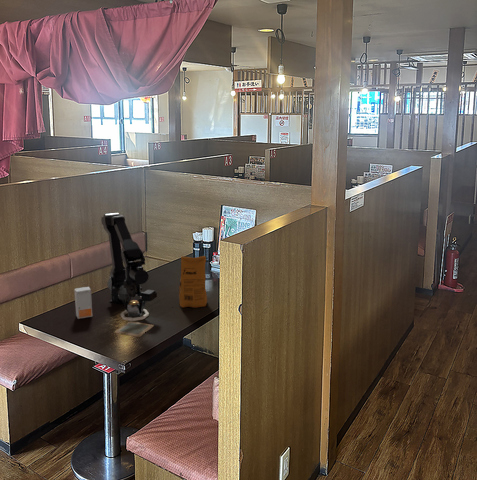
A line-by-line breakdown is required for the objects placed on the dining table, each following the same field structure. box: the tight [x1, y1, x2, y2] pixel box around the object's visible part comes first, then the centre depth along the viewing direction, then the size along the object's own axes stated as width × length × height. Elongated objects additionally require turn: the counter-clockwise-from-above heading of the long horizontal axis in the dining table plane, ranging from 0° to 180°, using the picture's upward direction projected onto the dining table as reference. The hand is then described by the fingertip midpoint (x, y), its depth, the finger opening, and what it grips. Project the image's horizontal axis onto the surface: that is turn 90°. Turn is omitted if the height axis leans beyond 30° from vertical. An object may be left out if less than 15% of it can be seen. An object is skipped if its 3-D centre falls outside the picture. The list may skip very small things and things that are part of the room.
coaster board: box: [113, 320, 155, 338], centre depth 200 cm, size 11×11×1 cm
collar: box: [120, 308, 150, 322], centre depth 213 cm, size 11×11×1 cm
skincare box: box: [73, 286, 93, 320], centre depth 211 cm, size 6×4×12 cm
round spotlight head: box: [127, 299, 143, 318], centre depth 212 cm, size 6×7×6 cm
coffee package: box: [178, 255, 208, 309], centre depth 223 cm, size 10×12×22 cm
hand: (134, 312), depth 213 cm, fingers closed on round spotlight head, 6 cm apart
